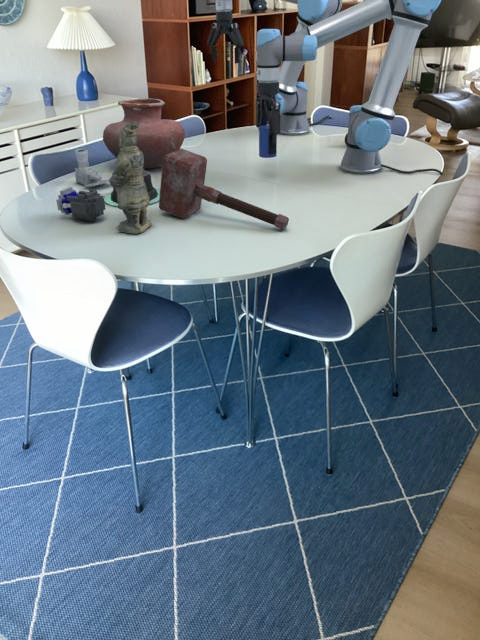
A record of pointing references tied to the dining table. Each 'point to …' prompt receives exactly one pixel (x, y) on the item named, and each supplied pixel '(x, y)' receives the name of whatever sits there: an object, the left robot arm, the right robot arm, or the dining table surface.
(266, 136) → the canister
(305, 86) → the left robot arm
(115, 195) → the chocolate cake
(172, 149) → the clay pot
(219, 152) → the dining table surface
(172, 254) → the dining table surface
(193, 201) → the sledgehammer
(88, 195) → the toy
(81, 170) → the grey l-shaped piece
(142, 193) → the statue
